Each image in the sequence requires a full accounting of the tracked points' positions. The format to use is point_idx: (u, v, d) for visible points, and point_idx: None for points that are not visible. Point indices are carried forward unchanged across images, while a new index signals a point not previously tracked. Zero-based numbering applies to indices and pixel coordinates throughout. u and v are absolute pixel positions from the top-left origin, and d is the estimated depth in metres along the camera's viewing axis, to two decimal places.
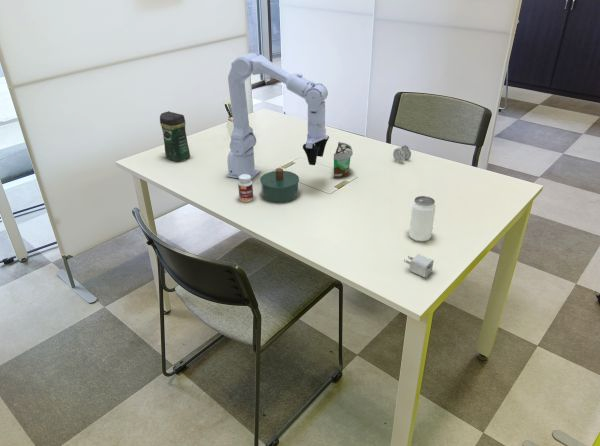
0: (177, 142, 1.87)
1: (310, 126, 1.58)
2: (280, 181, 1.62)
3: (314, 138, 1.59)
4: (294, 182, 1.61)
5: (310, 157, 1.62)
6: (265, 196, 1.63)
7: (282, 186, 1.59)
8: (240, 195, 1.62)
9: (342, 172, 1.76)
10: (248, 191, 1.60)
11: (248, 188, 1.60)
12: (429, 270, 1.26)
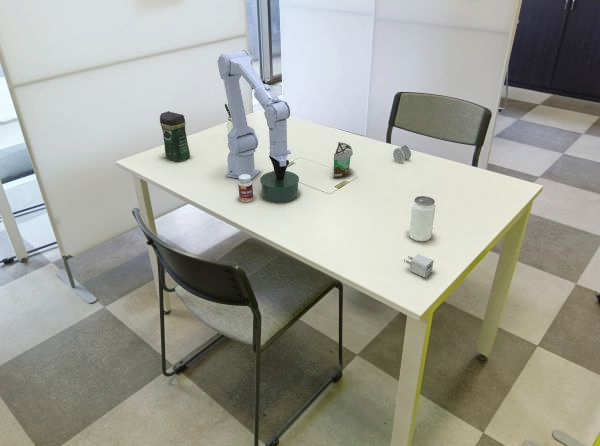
0: (177, 141, 1.87)
1: (276, 144, 1.54)
2: (280, 181, 1.62)
3: (281, 155, 1.56)
4: (294, 182, 1.61)
5: (279, 172, 1.60)
6: (265, 196, 1.63)
7: (282, 186, 1.59)
8: (240, 195, 1.62)
9: (342, 172, 1.76)
10: (248, 191, 1.60)
11: (248, 188, 1.60)
12: (429, 270, 1.26)
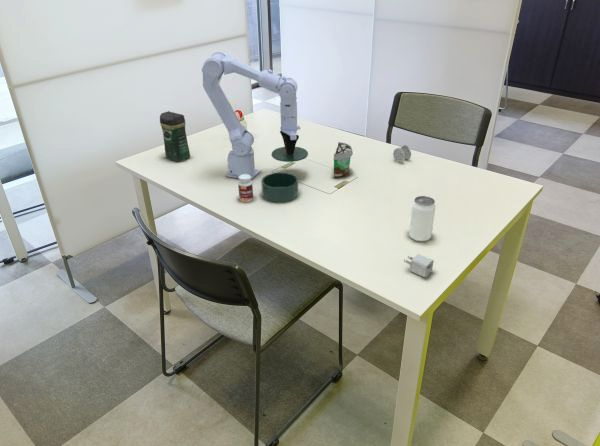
0: (177, 141, 1.87)
1: (287, 119, 1.65)
2: (290, 155, 1.73)
3: (292, 130, 1.67)
4: (303, 156, 1.72)
5: (289, 147, 1.71)
6: (265, 196, 1.63)
7: (292, 159, 1.69)
8: (240, 195, 1.62)
9: (342, 172, 1.76)
10: (248, 191, 1.60)
11: (248, 188, 1.60)
12: (429, 270, 1.26)
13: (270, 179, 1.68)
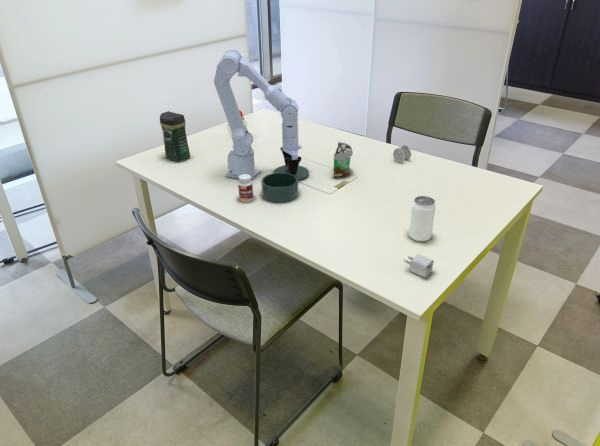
0: (177, 141, 1.87)
1: (288, 140, 1.70)
2: None
3: (293, 150, 1.72)
4: (304, 175, 1.77)
5: (292, 168, 1.74)
6: (265, 196, 1.63)
7: None
8: (240, 195, 1.62)
9: (342, 172, 1.76)
10: (248, 191, 1.60)
11: (248, 188, 1.60)
12: (429, 270, 1.26)
13: (270, 179, 1.68)
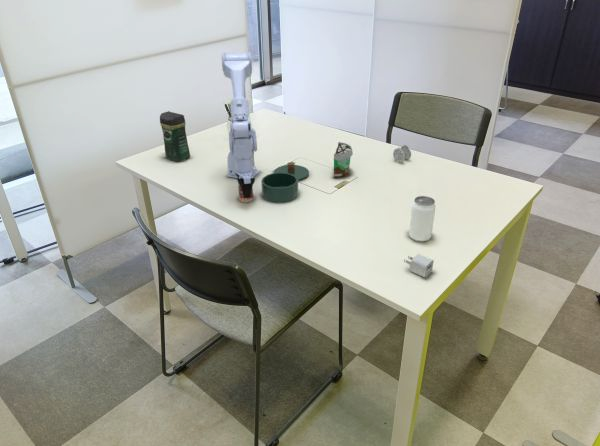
0: (177, 141, 1.87)
1: (241, 161, 1.54)
2: (292, 174, 1.78)
3: (246, 172, 1.56)
4: (304, 175, 1.77)
5: (245, 190, 1.59)
6: (265, 196, 1.63)
7: None
8: (240, 195, 1.62)
9: (342, 172, 1.76)
10: None
11: None
12: (429, 270, 1.26)
13: (270, 179, 1.68)
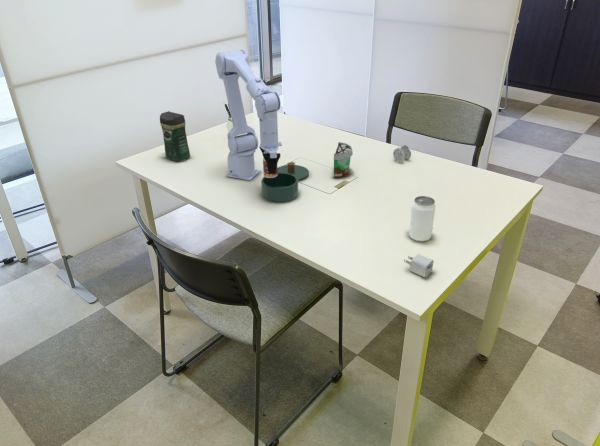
0: (177, 141, 1.87)
1: (266, 136, 1.52)
2: (292, 174, 1.78)
3: (272, 147, 1.54)
4: (304, 175, 1.77)
5: (270, 166, 1.57)
6: (265, 196, 1.63)
7: None
8: (265, 171, 1.60)
9: (342, 172, 1.76)
10: None
11: None
12: (429, 270, 1.26)
13: (270, 179, 1.68)
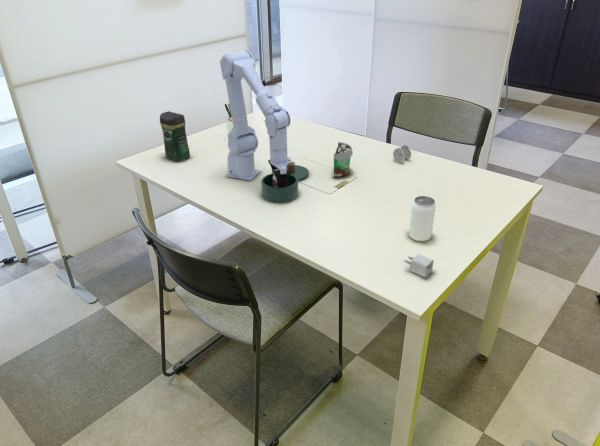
0: (177, 141, 1.87)
1: (276, 152, 1.56)
2: (292, 174, 1.78)
3: (282, 163, 1.58)
4: (304, 175, 1.77)
5: (280, 182, 1.60)
6: (265, 196, 1.63)
7: None
8: None
9: (342, 172, 1.76)
10: None
11: None
12: (429, 270, 1.26)
13: (270, 179, 1.68)
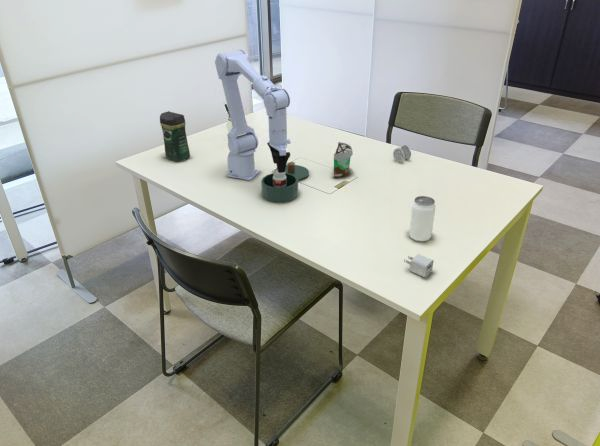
0: (177, 141, 1.87)
1: (276, 133, 1.52)
2: (292, 174, 1.78)
3: (281, 145, 1.54)
4: (304, 175, 1.77)
5: (280, 165, 1.56)
6: (265, 196, 1.63)
7: None
8: None
9: (342, 172, 1.76)
10: (283, 185, 1.63)
11: (282, 182, 1.62)
12: (429, 270, 1.26)
13: (270, 179, 1.68)
